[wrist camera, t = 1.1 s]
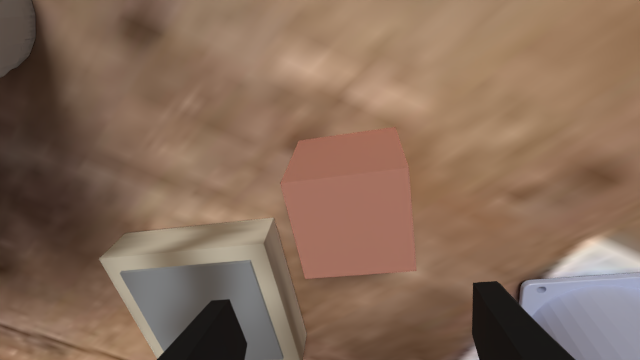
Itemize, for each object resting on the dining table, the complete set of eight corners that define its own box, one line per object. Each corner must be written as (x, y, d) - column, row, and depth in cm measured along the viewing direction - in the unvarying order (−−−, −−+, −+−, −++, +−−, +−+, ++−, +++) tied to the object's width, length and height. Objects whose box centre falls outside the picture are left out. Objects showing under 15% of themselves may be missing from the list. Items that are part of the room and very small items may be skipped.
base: (273, 217, 20) (262, 245, 18) (306, 333, 24) (301, 369, 22) (125, 233, 22) (96, 261, 19) (180, 339, 26) (162, 373, 24)
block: (395, 126, 17) (408, 167, 13) (402, 210, 19) (416, 270, 15) (299, 140, 18) (280, 183, 13) (316, 219, 20) (305, 278, 16)
